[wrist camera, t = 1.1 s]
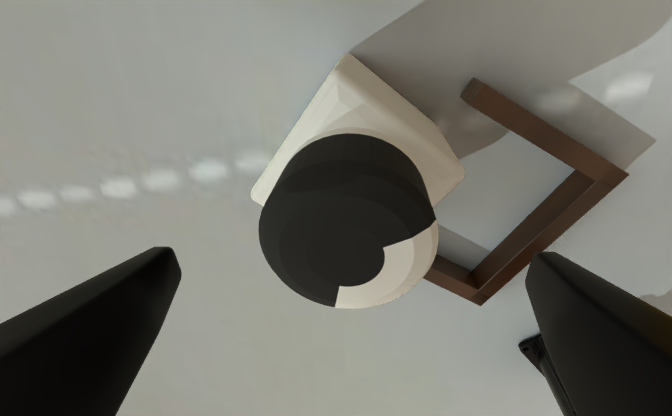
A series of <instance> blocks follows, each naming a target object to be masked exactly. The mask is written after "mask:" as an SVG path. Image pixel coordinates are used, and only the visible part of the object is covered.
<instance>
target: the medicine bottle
mask: <svg viewBox="0 0 672 416" xmlns="http://www.w3.org/2000/svg"><path fill="white" fill-rule="evenodd" d="M464 173H465V171H464V169H463V167H462V166H461V164H460V162H459V161H458V159H457V158H456V156H455V154H454V153H453V151H452V149H451V148H450V146H449V144H448V143H447V141H446V140H445V138H444V136H443V135H442V133H441V131H440V130H439V128H438V126H437V125H436V124H435V123H434V122H433V121H431V120H430V119H429V118H428V117H426V116H425V115H424V114H423V113H422V112H420V111H419V110H418V109H417V108H416V107H414V106H413V105H412V104H411V103H409V102H408V101H407V100H406V99H405V98H403V97H402V96H401V95H400V94H399V93H397V92H396V91H395V90H394V89H392V88H391V87H390V86H389V85H388V84H386V83H385V82H384V81H383V80H382V79H380V78H379V77H378V76H377V75H375V74H374V73H373V72H372V71H371V70H369V69H368V68H367V67H366V66H365V65H363V64H362V63H361V62H360V61H358V60H357V59H356V58H355V57H354V56H352V55H351V54H349V53H345V54H343V55H342V56H341V58H340V59H339V61H338V62H337V64H336V65H335V66H334V68H333V69H332V71H331V72H330V74H329V75H328V77H327V78H326V80H325V81H324V83H323V84H322V86H321V87H320V89H319V90H318V92H317V93H316V95H315V96H314V98H313V99H312V101H311V102H310V104H309V105H308V107H307V108H306V110H305V111H304V113H303V114H302V115H301V117H300V118H299V120H298V121H297V123H296V124H295V126H294V127H293V129H292V130H291V132H290V133H289V135H288V136H287V138H286V139H285V141H284V142H283V144H282V145H281V147H280V148H279V150H278V151H277V153H276V154H275V156H274V157H273V159H272V160H271V162H270V163H269V165H268V166H267V167H266V169H265V170H264V172H263V173H262V175H261V176H260V178H259V179H258V181H257V182H256V184H255V185H254V187H253V188H252V190H251V198H252V199H253V200H254V201H256V202H257V203H259V204H260V205H262V206H264V207H263V209H262V212H261V216H260V220H259V239H260V244H261V248H262V251H263V254H264V256H265V258H266V260H267V262H268V263H269V265H270V267H271V268H272V270H273V271H274V272H275V273H276V274H277V276H278V277H279V278H280V279H281V280H282V281H283V282H284V283H285V284H286V285H287V286H288V287H290V288H291V289H292V290H294V291H295V292H296V293H298V294H300V295H301V296H303V297H305V298H307V299H309V300H312V301H314V302H317V303H320V304H323V305H327V306H331V307H337V308H347V309H357V308H367V307H373V306H377V305H381V304H384V303H387V302H389V301H391V300H394V299H396V298H398V297H399V296H401V295H403V294H404V293H406V292H407V291H408V290H410V289H411V288H412V287H414V286H415V285H416V284H417V283H418V282H419V281H420V280H421V279H422V278H423V277H424V276H425V274H426V273H427V272H428V270H429V269H430V267H431V265H432V263H433V261H434V258H435V255H436V252H437V248H438V241H439V234H438V225H437V221H436V217H435V214H434V211H433V208H432V207H434V206H435V205H436V204H437V203H438V202H439V201H440V200H441V199H442V198H443V197H444V196H445V195H446V194H448V193H449V192H450V191H451V190H452V189H453V188H454V187H455V186H456V185H457V184H458V183H459V182H460V181H461V180H462V179H463V178H464Z"/></svg>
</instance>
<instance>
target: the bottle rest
mask: <svg viewBox="0 0 672 416" xmlns="http://www.w3.org/2000/svg"><path fill="white" fill-rule="evenodd" d="M460 97H461V98H462V99H463V100H464V101H465V102H466V103H467V104H469V105H470V106H472V107H473V108H475V109H477V110H478V111H480V112H482V113H483V114H485V115H487V116H488V117H490V118H491V119H493V120H495V121H496V122H498V123H500V124H501V125H503V126H505V127H506V128H508V129H510V130H511V131H513V132H515V133H516V134H518V135H520V136H521V137H523V138H525V139H526V140H528V141H530V142H531V143H533V144H535V145H536V146H538V147H539V148H541V149H543V150H544V151H546V152H548V153H549V154H551V155H553V156H554V157H556V158H558V159H559V160H561V161H563V162H564V163H566V164H568V165H569V166H571V167H573V168H574V169H576V170H575V171H574V172H573V173H572V174H571V175H570V176H569V177H568V178H567V179H566V180H565V181H564V182H563V183H562V184H561V185H560V186H559V187H558V188H557V189H556V190H554V191H553V192H552V193H551V194H550V195H549V196H548V197H547V198H546V199H545V200H544V201H543V202H542V203H541V204H540V205H539V206H538V207H537V208H536V209H535V210H534V211H533V212H532V213H531V214H530V215H529V216H528V217H527V218H526V219H525V220H524V221H523V222H522V223H521V224H520V225H519V226H518V227H517V228H516V229H515V230H514V231H513V232H512V233H511V234H510V235H509V236H508V237H506V238H505V239H504V240H503V241H502V242H501V243H500V244H499V245H498V246H497V247H496V248H495V249H494V250H493V251H492V252H491V253H490V254H489V255H488V256H487V257H486V258H485V259H484V260H483V261H482V262H481V263H480V264H479V265H478V266H477V267H476V268H475V269H474V270H473V271H472V272H470V271H468V270H466V269H464V268H462V267H460V266H458V265H456V264H454V263H452V262H450V261H448V260H446V259H444V258H442V257H440V256H438V255H435V258H434V261H433V263H432V265H431V267H430V269H429V270H428V272H427V273H426V274H425V276H424V277H423V278H424V279H426V280H428V281H430V282H432V283H434V284H436V285H438V286H440V287H442V288H444V289H446V290H449V291H451V292H453V293H455V294H457V295H459V296H461V297H463V298H465V299H467V300H469V301H471V302H473V303H475V304H477V305H480V306H481V305H483V304H484V303H485V302H486V301H487V300H488V299H489V298H490V297H492V296H493V295H494V294H495V293H496V292H497V291H498V290H500V289H501V288H502V287H503V286H504V285H505V284H506V283H507V282H509V281H510V280H511V279H512V278H513V277H514V276H515V275H516V274H518V273H519V272H520V271H521V270H522V269H523V268H524V267H526V266H527V265H528V264H529V263H530V262H531V260H532V257H533V255H534V254H535V253H536V252H543V251H544V250H545V249H546V248H547V247H548V246H549V245H550V244H552V243H553V242H554V241H555V240H556V239H557V238H558V237H559V236H561V235H562V234H563V233H564V232H565V231H566V230H567V229H569V228H570V227H571V226H572V225H573V224H574V223H575V222H576V221H578V220H579V219H580V218H581V217H582V216H583V215H584V214H586V213H587V212H588V211H589V210H590V209H591V208H592V207H593V206H595V205H596V204H597V203H598V202H599V201H600V200H601V199H602V198H604V197H605V196H606V195H607V194H608V193H609V192H610V191H612V190H613V189H614V188H615V187H616V186H617V185H618V184H619V183H621V182H622V181H623V180H624V179H625V178H626V177H627V176H629V174H628V173H626V172H625V171H623V170H622V169H620V168H618V167H617V166H615V165H614V164H612V163H610V162H609V161H607V160H606V159H604V158H602V157H601V156H599V155H598V154H596V153H594V152H593V151H591V150H590V149H588V148H586V147H585V146H583V145H582V144H580V143H578V142H577V141H575V140H574V139H572V138H570V137H569V136H567V135H566V134H564V133H562V132H561V131H559V130H558V129H556V128H554V127H553V126H551V125H550V124H548V123H546V122H545V121H543V120H542V119H540V118H538V117H537V116H535V115H534V114H532V113H530V112H529V111H527V110H526V109H524V108H522V107H521V106H519V105H518V104H516V103H514V102H513V101H511V100H509V99H508V98H506V97H505V96H503V95H501V94H500V93H498V92H497V91H495V90H493V89H492V88H490V87H489V86H487V85H485V84H484V83H482V82H480V81H479V80H477V79H475V78H472V80H471V81H470V83H469V84H468V86H467V87H466V88H465V90H464V91H463V93H462V94H461V95H460Z"/></svg>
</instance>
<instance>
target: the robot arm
mask: <svg viewBox="0 0 672 416" xmlns="http://www.w3.org/2000/svg"><path fill="white" fill-rule="evenodd" d="M180 280H181V269H180V266H179V264H178V261H177V258H176V256H175V253H174V251H173V249H172V248H170V247H153V248H151V249H149V250H147V251H145V252H143V253H141V254H139V255H137V256H135V257H133V258H131V259H129V260H127V261H125V262H123V263H121V264H119V265H117V266H115V267H113V268H111V269H109V270H107V271H105V272H103V273H101V274H99V275H97V276H95V277H93V278H91V279H89V280H87V281H85V282H83V283H81V284H79V285H77V286H75V287H73V288H71V289H69V290H67V291H65V292H63V293H61V294H59V295H57V296H55V297H53V298H51V299H49V300H47V301H45V302H43V303H41V304H39V305H37V306H35V307H33V308H31V309H29V310H27V311H25V312H23V313H21V314H19V315H17V316H15V317H13V318H11V319H9V320H7V321H5V322H3V323H1V324H0V416H115V415H116V414H117V412H118V410H119V408H120V406H121V404H122V402H123V400H124V398H125V397H126V395H127V393H128V391H129V389H130V387H131V385H132V383H133V381H134V379H135V378H136V376H137V374H138V372H139V370H140V368H141V366H142V364H143V362H144V361H145V359H146V357H147V355H148V353H149V351H150V349H151V347H152V345H153V343H154V342H155V340H156V338H157V336H158V334H159V331H160V329H161V327H162V325H163V322H164V320H165V317H166V315H167V312H168V310H169V308H170V305H171V303H172V300H173V298H174V295H175V293H176V290H177V288H178V285H179V283H180ZM525 284H526V289H527V292H528V295H529V298H530V301H531V305H532V308H533V311H534V314H535V317H536V320H537V323H538V326H539V329H540V332H541V334H540V335H538V336H535V337H533V338H530V339H528V340H525V341H523V342H521V343H519V345H518V346H519V348H520V351H521V352H522V353H523V354H524V355H525V356H526V357H527V358H528V359H529V360H530V362H531V363H532V364H533V365H534V366H535V367H536V368H537V369H538V370H539V371H540V372H541V373H542V374H543V376H544V377H545V378H546V380H547V382H548V384H549V386H550V388H551V390H552V393H553V395H554V397H555V399H556V401H557V403H558V405H559V407H560V409H561V411H562V413H563V415H564V416H672V317H671V316H669V315H667V314H666V313H664V312H662V311H660V310H658V309H657V308H655V307H653V306H651V305H649V304H648V303H646V302H644V301H642V300H640V299H639V298H637V297H635V296H633V295H631V294H630V293H628V292H626V291H624V290H622V289H621V288H619V287H617V286H615V285H613V284H612V283H610V282H608V281H606V280H604V279H603V278H601V277H599V276H597V275H596V274H594V273H592V272H590V271H588V270H587V269H585V268H583V267H581V266H579V265H578V264H576V263H574V262H572V261H570V260H569V259H567V258H565V257H563V256H561V255H560V254H558V253H555V252H536V253H535V254H534V255H533V257H532V260H531V263H530V266H529V269H528V273H527V276H526V281H525Z"/></svg>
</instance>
